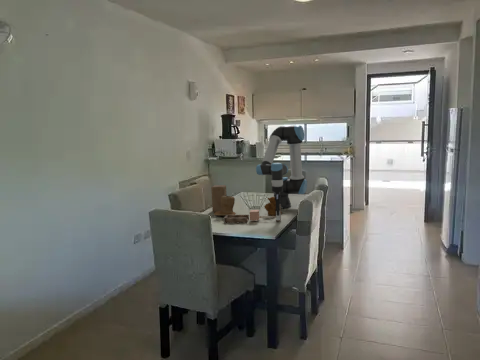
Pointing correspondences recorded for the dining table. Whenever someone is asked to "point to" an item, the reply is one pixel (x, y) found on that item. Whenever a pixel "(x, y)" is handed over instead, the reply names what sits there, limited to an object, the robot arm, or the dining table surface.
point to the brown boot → (226, 206)
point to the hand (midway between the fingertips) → (278, 218)
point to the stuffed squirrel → (271, 207)
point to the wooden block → (217, 196)
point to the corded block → (255, 216)
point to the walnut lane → (236, 218)
